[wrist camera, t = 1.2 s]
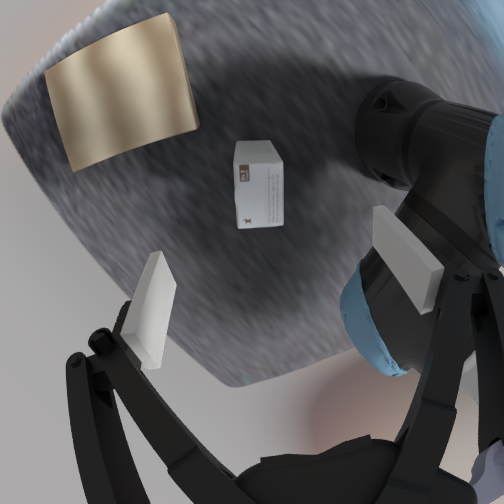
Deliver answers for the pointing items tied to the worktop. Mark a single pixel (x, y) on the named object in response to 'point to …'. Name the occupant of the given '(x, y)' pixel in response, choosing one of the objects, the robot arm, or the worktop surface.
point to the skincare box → (258, 185)
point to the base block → (122, 92)
